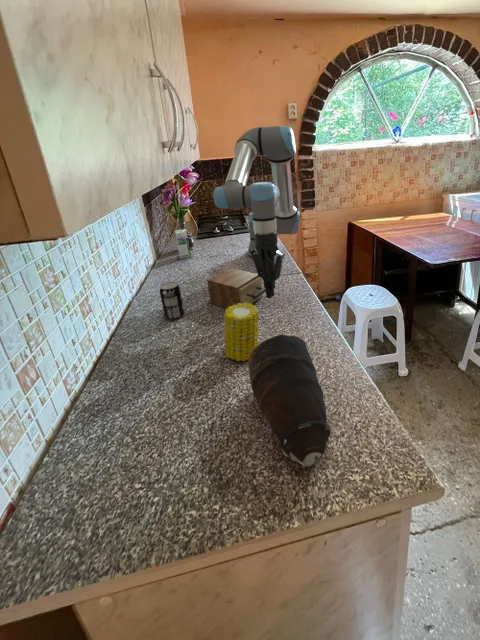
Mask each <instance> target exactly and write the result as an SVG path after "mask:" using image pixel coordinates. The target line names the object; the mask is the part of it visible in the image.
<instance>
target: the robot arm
mask: <svg viewBox="0 0 480 640" xmlns="http://www.w3.org/2000/svg"><path fill="white" fill-rule="evenodd" d="M233 153H234V154H233V159H232V160H231V164H230V167H229V171H228V173H227V176H226V180H225V182H224V184H223V185H221V186H217V187H215V188H214V190H213V202H214V204H215V206H216V207H217V208H218V209H227V210H229V209H230V210H231V209H251V212H250V213H249V214H248V215H247V216H248V221H247V223H248V231H249V244H248V249H247V255H248V256H249V257H251V258H252V259H253V263H254V266H255V270H256V274H258V277H259V278H261V280H263V288H266V292H265V298H266V299H271V298H272V297H274V296H275V289H276V281H277V280H278V279H280V278H281V273H282V272H281V271H282V265H283V260H284V258H285V256H286V254H285V253H284V252H281V251H279V247H278V241H279V240H278V235H296V234H298V233H299V226H300V214H301V212H300V211H298V210H297V207H296V206H294V196H293V182H292V171H291V170H292V169H291V162H292V160H293V159H294V155H296V153H297V146H296V140H295V134H294V130H293V128H292V127H291V126H289V125H275V126H261V127H259V126H258V127H253V128H250V129H248V130H247V131H245V132H244V133H243V134H242V135H241V136H240V137H238V139H237V140H236V142H235V145H234V148H233ZM257 157H266V160H267V162H269V163H270V168H271V176H272V182H271V181H259V182H254V183H251V184H250V185H247V184H248V180H249V177H250V173H251V168H252V165H253V161H254V160H255V159H256V158H257Z"/></svg>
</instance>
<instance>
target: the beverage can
mask: <svg viewBox="0 0 480 640" xmlns="http://www.w3.org/2000/svg"><path fill="white" fill-rule="evenodd" d="M159 295H160V300H161V304H162V309H163V314H164V317H165V318H166V319H167V320H172V321H173V320H177V319H178V320H179V319H180V318H182V317H183V315H184V314H185V308H184V302H183V297H182V293H181V287H180V285H179V284H178V282H177V281H167V282H164V283H162V284H161V285H160V286H159Z"/></svg>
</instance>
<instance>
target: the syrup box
mask: <svg viewBox="0 0 480 640" xmlns="http://www.w3.org/2000/svg"><path fill="white" fill-rule="evenodd" d="M174 234H175V240H176V244H177V245H176V246H177V250H178V255H179V259H182V260H183V259H186V258H191V257H192V255H191V250H190V249H191V248H190V244H189V238H188V232H187V229H185V228H184V229H178V230H175V231H174Z"/></svg>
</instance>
